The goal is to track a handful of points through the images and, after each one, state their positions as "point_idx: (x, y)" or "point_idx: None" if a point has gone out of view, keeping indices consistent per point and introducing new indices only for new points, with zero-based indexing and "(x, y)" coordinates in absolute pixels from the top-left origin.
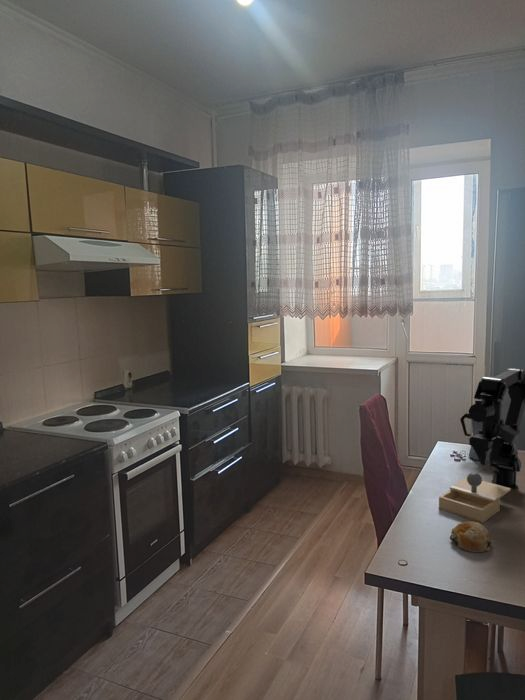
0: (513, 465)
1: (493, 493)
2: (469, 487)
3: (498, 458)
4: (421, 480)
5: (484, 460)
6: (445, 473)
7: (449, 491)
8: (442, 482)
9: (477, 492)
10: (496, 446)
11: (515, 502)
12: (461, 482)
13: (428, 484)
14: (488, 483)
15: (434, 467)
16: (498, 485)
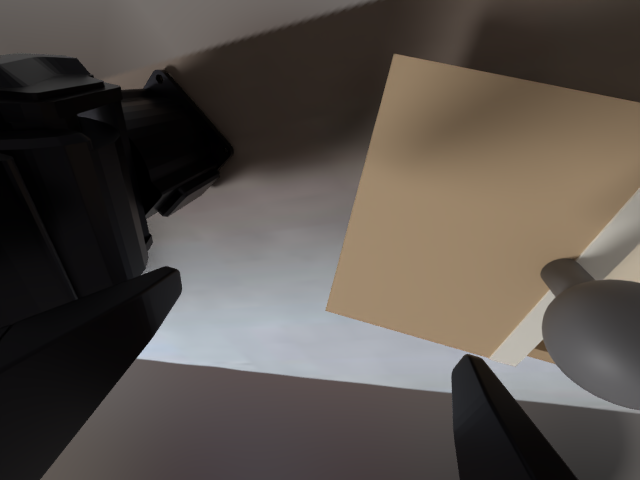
0: (84, 102)
1: (563, 159)
2: (485, 295)
3: (111, 242)
4: (332, 379)
5: (536, 438)
6: (232, 332)
7: (533, 353)
8: (311, 335)
9: (568, 253)
10: (34, 402)
11: (369, 30)
12: (421, 328)
13: (353, 365)
14: (369, 215)
15: (212, 356)
16: (374, 155)
